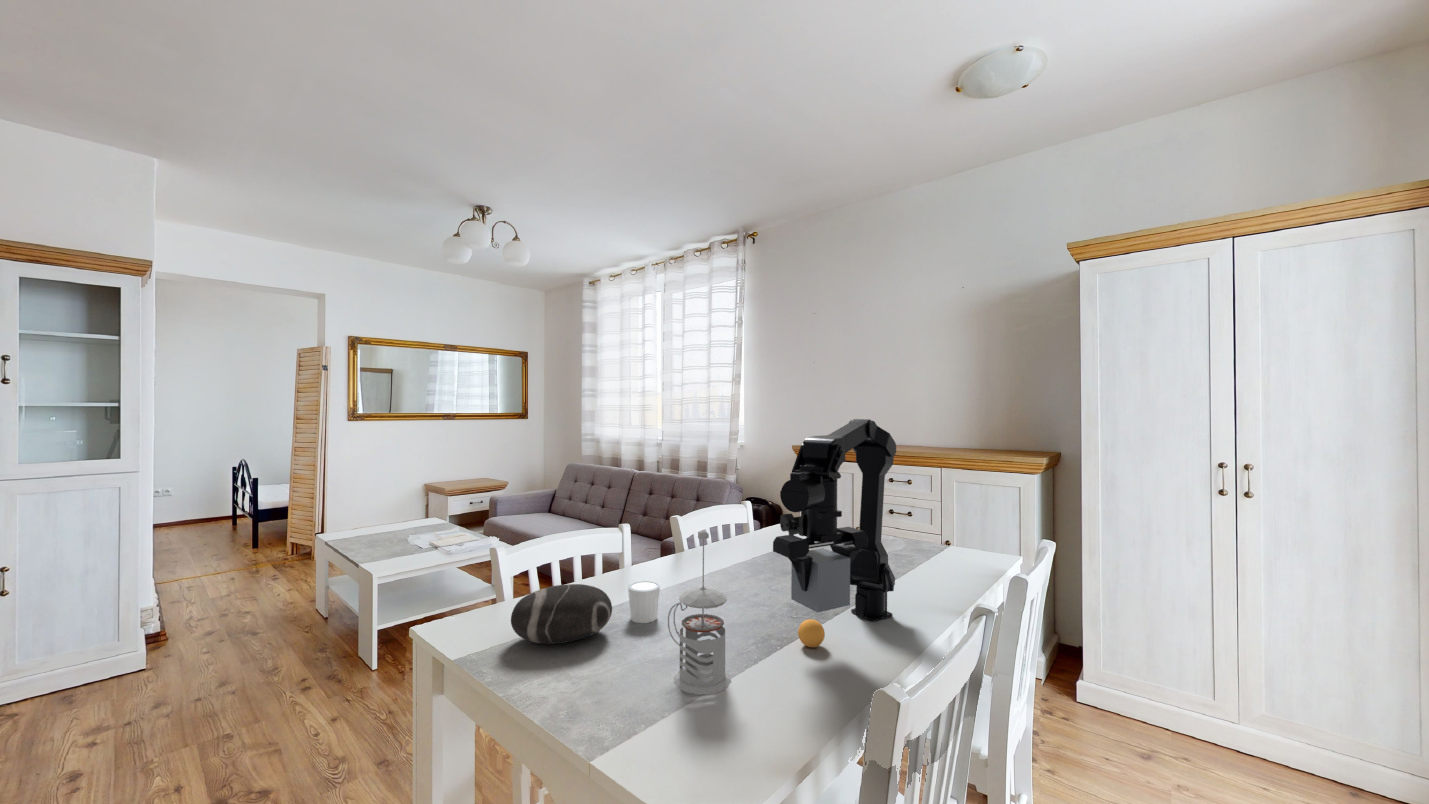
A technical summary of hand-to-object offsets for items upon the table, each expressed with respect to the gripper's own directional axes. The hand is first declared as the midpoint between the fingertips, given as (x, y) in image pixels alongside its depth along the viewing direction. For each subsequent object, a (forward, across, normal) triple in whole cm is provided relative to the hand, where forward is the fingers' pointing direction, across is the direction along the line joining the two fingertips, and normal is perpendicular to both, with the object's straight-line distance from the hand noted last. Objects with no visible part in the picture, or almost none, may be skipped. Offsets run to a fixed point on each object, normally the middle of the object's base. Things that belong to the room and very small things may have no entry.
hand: (821, 587), depth 105 cm
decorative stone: (+12, +41, -29) cm, 52 cm away
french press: (+12, +25, -2) cm, 28 cm away
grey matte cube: (+3, 0, 0) cm, 3 cm away
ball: (+10, 0, -2) cm, 10 cm away
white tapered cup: (+12, +23, -31) cm, 40 cm away
